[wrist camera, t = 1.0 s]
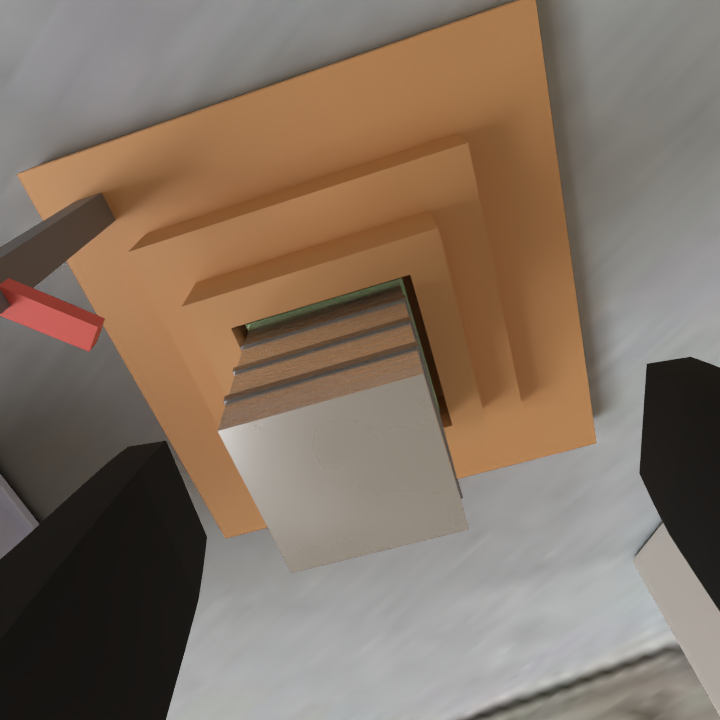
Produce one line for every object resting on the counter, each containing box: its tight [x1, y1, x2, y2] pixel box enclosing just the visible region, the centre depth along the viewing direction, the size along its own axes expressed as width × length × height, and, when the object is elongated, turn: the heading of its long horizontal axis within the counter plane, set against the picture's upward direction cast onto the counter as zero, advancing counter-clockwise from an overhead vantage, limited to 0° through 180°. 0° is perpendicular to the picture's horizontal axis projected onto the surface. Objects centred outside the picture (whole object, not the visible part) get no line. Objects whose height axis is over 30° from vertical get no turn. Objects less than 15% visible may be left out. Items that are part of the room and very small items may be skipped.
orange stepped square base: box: [0, 0, 596, 538], centre depth 16 cm, size 14×14×8 cm
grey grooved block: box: [218, 277, 469, 573], centre depth 14 cm, size 4×4×5 cm
